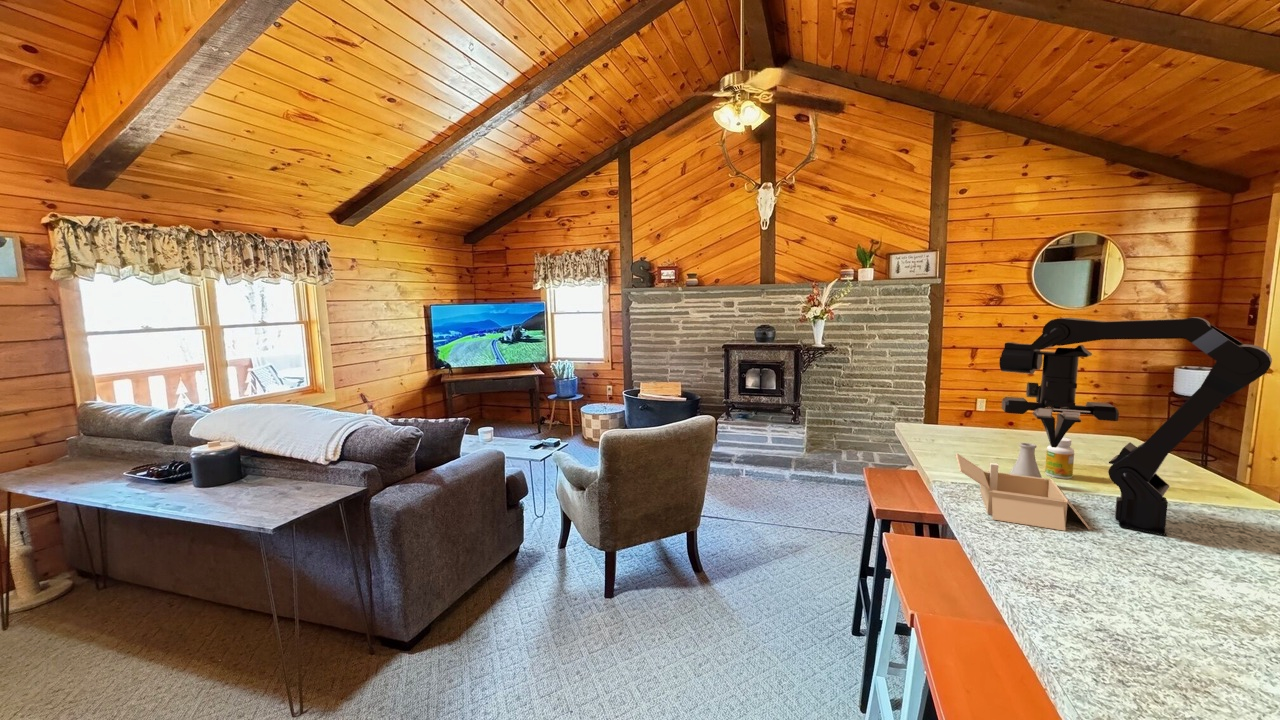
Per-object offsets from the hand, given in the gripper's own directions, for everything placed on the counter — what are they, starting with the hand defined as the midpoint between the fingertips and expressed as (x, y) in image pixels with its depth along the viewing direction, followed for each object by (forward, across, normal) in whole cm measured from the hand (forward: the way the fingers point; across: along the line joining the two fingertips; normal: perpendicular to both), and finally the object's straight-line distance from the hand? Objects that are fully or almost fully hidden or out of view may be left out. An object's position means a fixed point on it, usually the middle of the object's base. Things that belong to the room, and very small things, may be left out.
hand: (1053, 446), depth 108 cm
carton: (+13, +4, +5) cm, 14 cm away
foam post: (+13, +10, -1) cm, 17 cm away
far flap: (+8, +12, +5) cm, 15 cm away
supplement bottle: (+13, -6, -23) cm, 27 cm away
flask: (+13, +2, -13) cm, 19 cm away
